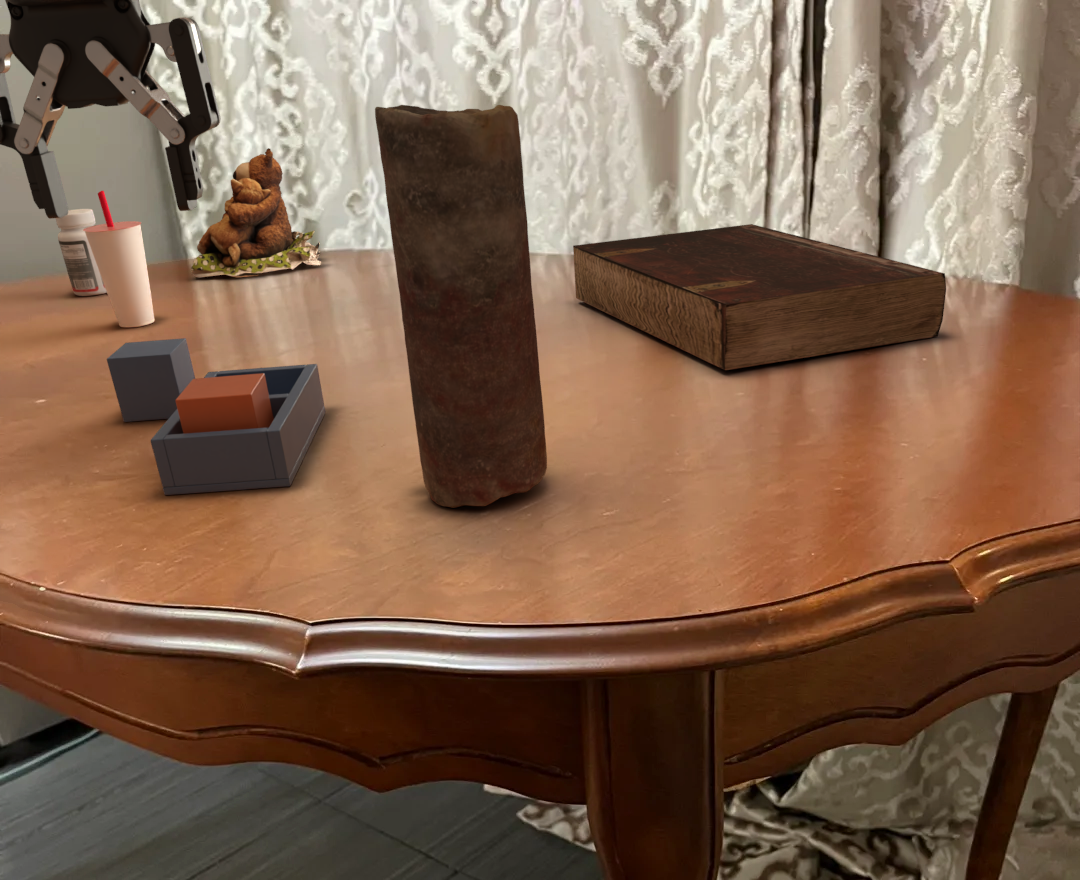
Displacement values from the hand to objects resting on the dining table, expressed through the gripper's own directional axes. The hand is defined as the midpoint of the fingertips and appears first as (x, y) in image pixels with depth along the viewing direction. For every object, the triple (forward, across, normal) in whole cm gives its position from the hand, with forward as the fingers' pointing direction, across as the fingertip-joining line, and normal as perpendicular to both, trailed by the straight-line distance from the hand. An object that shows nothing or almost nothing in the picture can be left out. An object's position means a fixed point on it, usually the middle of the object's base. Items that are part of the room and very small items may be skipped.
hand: (123, 212), depth 72 cm
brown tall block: (+14, +23, -16) cm, 31 cm away
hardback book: (+14, +44, +20) cm, 50 cm away
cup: (+15, -14, +35) cm, 41 cm away
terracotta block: (+13, +7, -10) cm, 18 cm away
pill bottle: (+15, -24, +53) cm, 60 cm away
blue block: (+14, -2, +4) cm, 15 cm away
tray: (+14, +7, -6) cm, 17 cm away
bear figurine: (+15, -7, +61) cm, 64 cm away
